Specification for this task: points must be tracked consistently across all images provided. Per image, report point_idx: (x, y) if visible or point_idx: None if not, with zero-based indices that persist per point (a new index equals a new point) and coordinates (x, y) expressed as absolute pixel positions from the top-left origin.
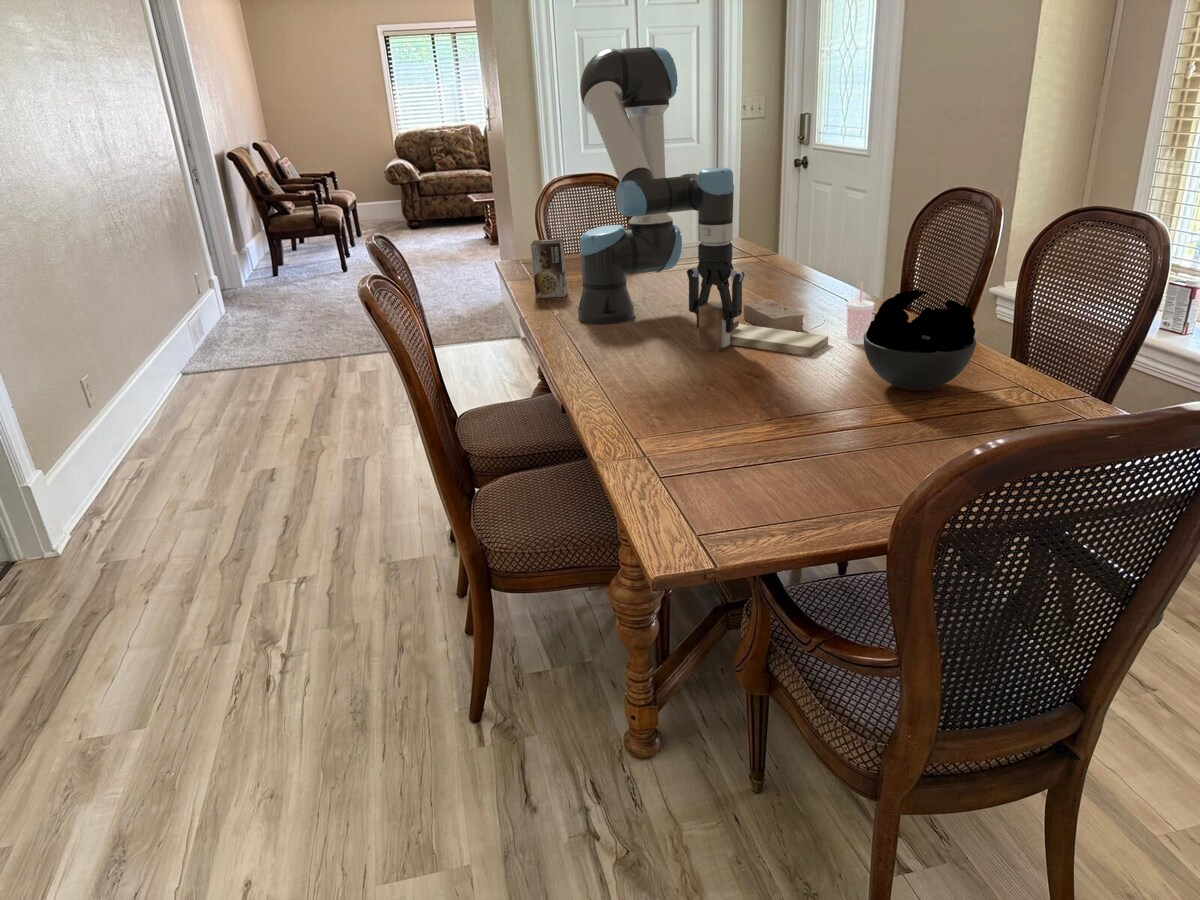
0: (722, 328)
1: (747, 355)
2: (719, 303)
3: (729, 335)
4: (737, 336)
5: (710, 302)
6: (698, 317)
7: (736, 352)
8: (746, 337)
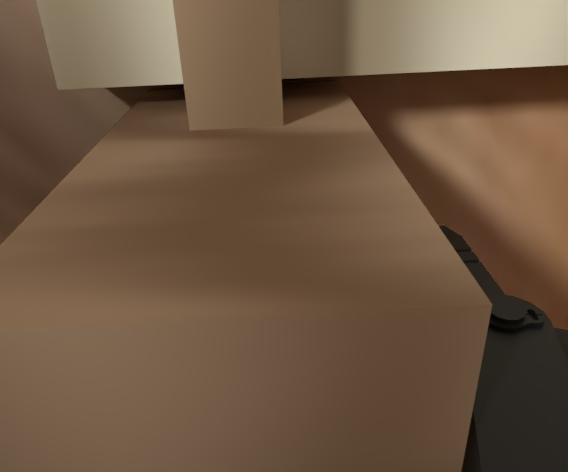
0: None
1: (561, 236)
2: (245, 427)
3: None
4: (412, 54)
5: (15, 449)
6: None
7: (462, 218)
8: (513, 35)
